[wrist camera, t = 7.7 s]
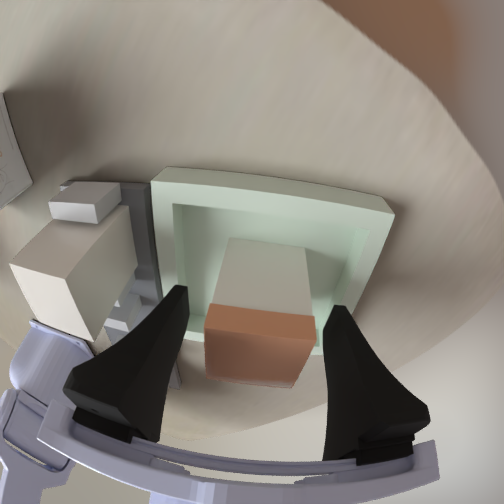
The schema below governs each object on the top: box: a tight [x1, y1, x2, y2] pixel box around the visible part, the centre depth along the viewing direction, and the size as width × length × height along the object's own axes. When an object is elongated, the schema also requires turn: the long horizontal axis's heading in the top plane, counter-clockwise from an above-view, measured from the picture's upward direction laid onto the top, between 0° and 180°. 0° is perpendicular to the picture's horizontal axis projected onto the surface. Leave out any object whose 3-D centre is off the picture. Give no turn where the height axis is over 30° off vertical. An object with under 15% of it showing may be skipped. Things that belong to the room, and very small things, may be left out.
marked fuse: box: [204, 237, 317, 388], centre depth 13 cm, size 4×4×6 cm
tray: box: [151, 167, 395, 355], centre depth 15 cm, size 11×11×2 cm
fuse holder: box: [48, 181, 181, 390], centre depth 18 cm, size 6×23×3 cm, turn 174°
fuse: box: [9, 205, 138, 342], centre depth 12 cm, size 4×4×6 cm
